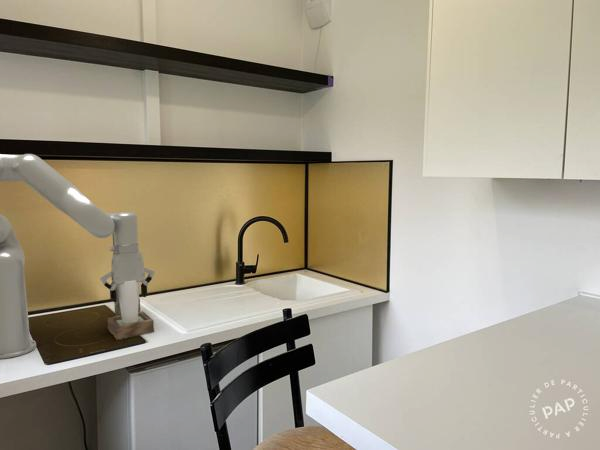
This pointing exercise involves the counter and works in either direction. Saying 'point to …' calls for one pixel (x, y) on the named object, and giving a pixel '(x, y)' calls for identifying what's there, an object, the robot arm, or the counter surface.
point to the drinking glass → (129, 301)
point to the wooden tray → (130, 326)
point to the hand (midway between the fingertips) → (129, 298)
